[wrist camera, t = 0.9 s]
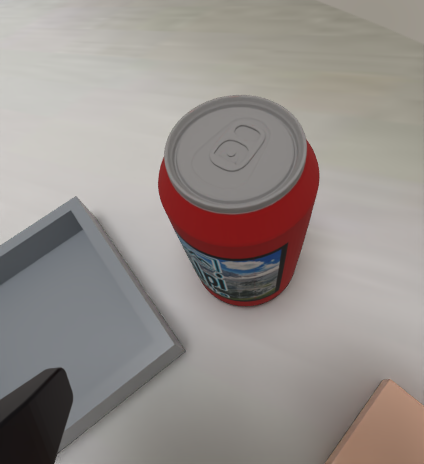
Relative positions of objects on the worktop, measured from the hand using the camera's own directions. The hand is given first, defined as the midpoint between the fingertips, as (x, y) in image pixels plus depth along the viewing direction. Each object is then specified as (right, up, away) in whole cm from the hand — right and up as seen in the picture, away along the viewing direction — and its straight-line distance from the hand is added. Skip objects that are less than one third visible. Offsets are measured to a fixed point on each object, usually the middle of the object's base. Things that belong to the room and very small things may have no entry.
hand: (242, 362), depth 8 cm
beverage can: (+2, +1, +15) cm, 15 cm away
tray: (-11, -4, +14) cm, 19 cm away
